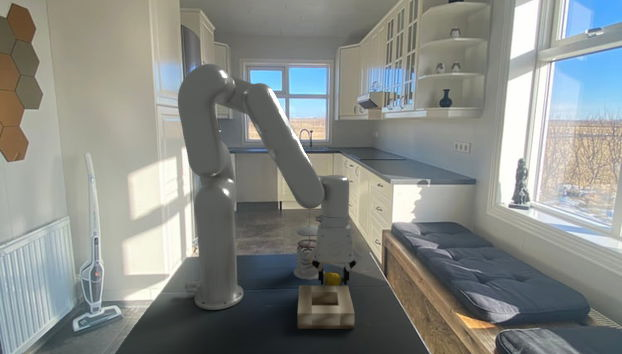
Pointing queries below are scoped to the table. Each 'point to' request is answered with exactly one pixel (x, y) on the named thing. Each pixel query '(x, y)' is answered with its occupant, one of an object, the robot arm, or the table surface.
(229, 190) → the robot arm
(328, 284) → the yellow stepped cone
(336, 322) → the socket block
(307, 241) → the french press
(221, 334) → the table surface
